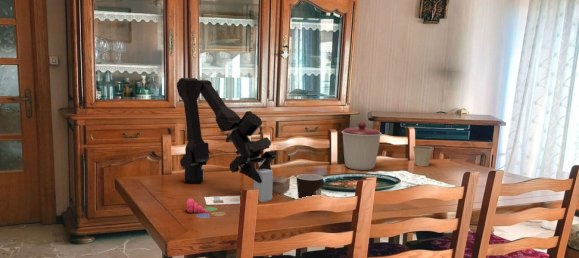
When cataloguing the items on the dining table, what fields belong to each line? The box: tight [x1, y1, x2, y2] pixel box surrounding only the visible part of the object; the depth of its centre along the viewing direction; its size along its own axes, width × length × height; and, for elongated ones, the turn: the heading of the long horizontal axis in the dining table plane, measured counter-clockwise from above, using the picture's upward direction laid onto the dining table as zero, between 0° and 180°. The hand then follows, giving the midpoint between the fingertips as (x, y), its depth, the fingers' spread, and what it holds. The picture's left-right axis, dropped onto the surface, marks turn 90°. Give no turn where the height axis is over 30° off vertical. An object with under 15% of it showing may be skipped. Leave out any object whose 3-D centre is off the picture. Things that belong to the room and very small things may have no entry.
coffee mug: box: [296, 173, 325, 199], centre depth 159 cm, size 12×9×10 cm
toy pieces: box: [185, 198, 226, 219], centre depth 150 cm, size 12×11×4 cm
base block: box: [272, 175, 291, 195], centre depth 180 cm, size 8×8×4 cm
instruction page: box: [204, 195, 241, 206], centre depth 164 cm, size 12×9×1 cm
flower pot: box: [412, 145, 434, 167], centre depth 235 cm, size 9×9×9 cm
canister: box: [341, 121, 383, 171], centre depth 223 cm, size 18×18×21 cm
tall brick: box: [253, 169, 274, 203], centre depth 166 cm, size 4×5×10 cm
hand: (266, 181), depth 165 cm, fingers open, 5 cm apart
